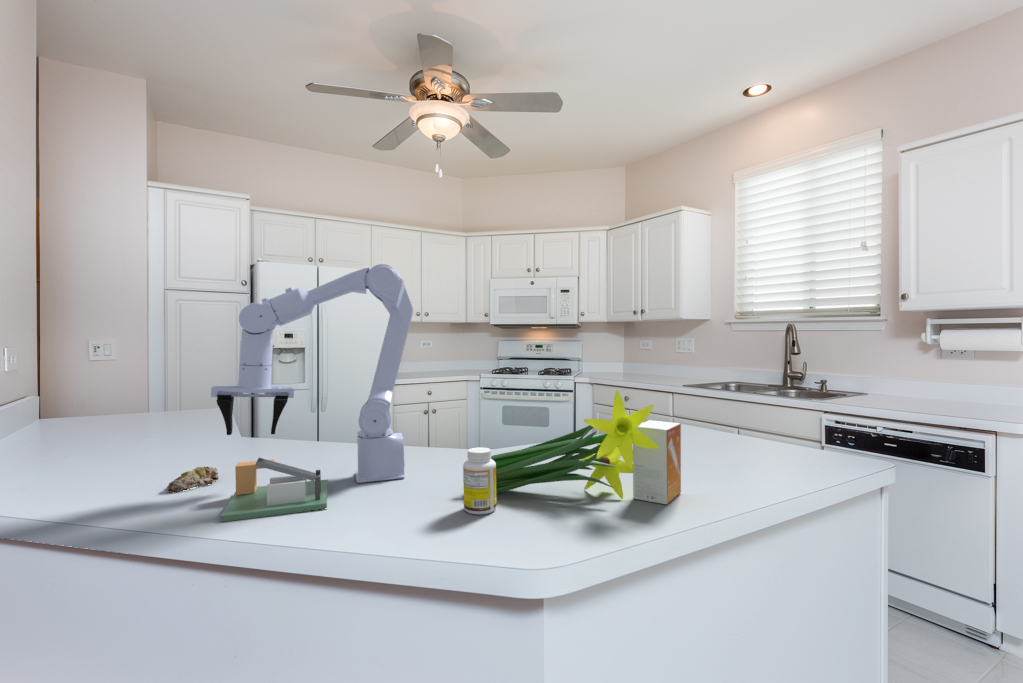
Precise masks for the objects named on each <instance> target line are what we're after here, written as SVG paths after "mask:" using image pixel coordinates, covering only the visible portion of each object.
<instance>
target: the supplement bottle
mask: <svg viewBox="0 0 1023 683" xmlns="http://www.w3.org/2000/svg"><path fill="white" fill-rule="evenodd" d="M466 456H467V460H465V461H464V462H463V464H462V467H463V469H462V473H463V474H462V475H463V476H462V478H463V480H462V481H463V508H464V510H465V512H466V513H468V514H470V515H478V516H479V515H488V514H490V513H493V512H494V511H495V510H496V509H497V505H498V504H497V502H498V501H497V494H496V463H495V461H494V460H492V459H491V456H492V450H491V448H488V447H478V446H477V447H472V448H469V449H468V450H467V455H466Z"/></svg>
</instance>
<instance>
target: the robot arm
mask: <svg viewBox="0 0 1023 683" xmlns="http://www.w3.org/2000/svg"><path fill="white" fill-rule="evenodd" d="M404 282H405V281H404V279H403V278H402V277H401V275H400V274H399V273H398V272H397V271H396V269H395V268H394V267H392V266H391V265H389V264H387V263H385V264H383V263H379V264H376V265H373V266H371V268H370V267H365V268H362V269H358V270H356V271H352V272H350V273H347V274H345V275H342V276H340V277H338V278H336V279H334V280H331V281H328V282H326V283H324V284H322V285H319V286H317V287H315V288H312V289H311V290H304V289H302V288H295V289H294V288H292V287H288V288H286V289H285V290H284V291H285V292H284V293H281V294H278V295H276V296H274V297H272V298H267V297H264V298H262V299H261V303H258V302H251V303H249V304H248V305H246V306H244V307H243V308H242V309H241V311H240V312H239V314H238V323H239V325H240V326H241V340H240V347H239V361H238V362H239V363H238V364H239V365H238V381H237V385H222V386H221V385H220V386H219V385H213V386H211V388H210V398H216V404H217V406H218V408H219V410H220V412H221V415H222V418H223V420H224V424H225V429H226V436H231V435H232V434H233V413H234V412H233V410H234V403H235V402H234V401H235V398H274V399H273V407H272V408H273V410H272V422H271V430H270V435H275V434H276V429H277V426H278V422H279V420H280V417H281V415H282V413H283V411H284V408H285V407H286V405H287V403H288V402H289V401H288V400H289V399H294V398H295V387H294V386H292V387H289V386H287V387H286V386H272V385H271V383H272V367H273V365H272V364H273V348H274V342H273V337H274V336H273V335H274V330H275V329H276V327H277V326H279V327H282V326H284V325H287V324H290V323H291V322H295V321H297V320H300V319H302V318H304V317H307V316H310V315H312V313H313V310H314V307H315V306H317V305H320V304H322V303H326V302H329V301H331V300H334V299H336V298H340V297H342V296H345V295H348V294H351V293H357V294H364V295H366V294H367V290H369V293H371V294H372V295H373V297H375V298H376V299H378V300H379V301H380V302H381V303H382V305H383V306H384V308H385V309H386V311H387V312H388V314H389V318H388V322H387V326H386V330H385V334H384V338H383V342H382V345H381V349H380V353H379V356H378V361H377V365H376V368H375V372H374V376H373V379H372V380H373V381H372V384H371V387H370V388H371V389H370V391H369V395H368V397H367V398H368V399H367V400H366V402H365V403H364V405H362V407H361V409H360V411H359V417H358V427H359V429H360V430H359V431H358V432H357V433H356V434H357V435H356V440H357V441H356V442H357V470H355V473H354V474H355V479H356V480H355V481H356V483H358V484H360V483H369V482H370V483H371V482H379V481H388V480H398V479H405V477H406V476H405V465H406V464H405V451H404V449H405V444H404V437H403V436H404V435H403V433H402V432H394V430H393V429H392V428H390V426H391V423H392V422H391V421H392V419H391V412H390V407H391V404H392V398H393V397H392V396H393V392H394V389H395V384H396V380H397V377H398V372H399V369H400V366H401V365H400V364H401V361H402V357H403V353H404V349H405V345H406V341H407V338H408V334H409V333H408V332H409V329H410V326H411V321H412V318H413V314H414V307H413V304H412V302H411V299H410V296H409V293H408V291H407V288H406V286H405V283H404Z"/></svg>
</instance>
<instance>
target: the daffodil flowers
mask: <svg viewBox="0 0 1023 683" xmlns="http://www.w3.org/2000/svg"><path fill="white" fill-rule="evenodd" d="M653 408H654V405H653V404H652V405H648V406H645V407H643V408H641V409H639V410H636V411H634V412H633V413H631V414H627V411H626V407H625V404H624V402H623V399H622V396H621V394H620V392H619V391H618V390H617V389H616V390H615V393H614V397H613V403H612V415H611V419H612V420H611V419H604V418H603V419H602V418H586V419H583V422H584V423H585V424H586V425H587V424H588V425H587V426H585V427H583V428H580V429H579V430H575V431H573V432H570V433H567V434H565V435H561V436H558V437H556V438H554V439H550V440H547V441H544V442H541V443H538V444H534V445H531V446H528V447H525V448H521V449H518V450H513V451H508V452H502V453H498V454H493V455H491V459H492V460H494V461H495V463H496V495H497V494H500V493H505V492H508V491H512V490H515V489H518V488H522V487H525V486H527V485H528V486H529V485H532V484H544V483H554V482H566V481H568V482H569V481H586V484H585V486H584V489H583V490H584V491H585V490H588V489H589V488H590V487H592V486H594V485H595V484H596V483H598V484H602V485H604V486H607V487H609V488H612V490H613V491H614V492H615V493H616V495H617V496H619V498H620V499H621V500H623V499H624V490H623V487H622V482H621V477H620V474H633V444H634V445H637V446H639V447H643V448H650V449H657V448H659V447H658V446H657V445H656V444H655V443H654V442H653V441H652V440H650V439H649V438H648V437H647V436H645V435H644V434H642V433H641V432H639V431H638V430H636V428H637V427H638V426H639V425H640V424H641V423H644V422H646V420H647V418H648V416H650V414H651V412H652V410H653ZM593 429H596V430H598V431H600V432H602V433H603V434H600V435H596V434H597V433H598V431H593V432H592V433H590V434H588V433H589V432H590V431H591V430H593ZM586 435H587V436H586ZM592 445H596V446H594V447H592V448H585V447H590V446H592ZM560 456H561V457H560ZM556 457H558V458H556ZM553 458H556V459H553ZM620 458H622V459H623V460H620ZM549 459H550V461H549V462H544V461H547V460H549ZM551 459H553V460H552V461H551ZM541 462H544V463H541ZM538 463H539V464H538ZM540 463H541V464H540ZM589 466H591V467H593V468H594V469H593V468H591V467H589ZM578 470H589V471H592V470H593V471H592V473H591V475H590V476H586V475H583V474H580V473H575V471H578ZM573 472H574V473H573ZM603 478H605V479H606V481H607V483H606V482H605V481H602V480H601V479H603Z"/></svg>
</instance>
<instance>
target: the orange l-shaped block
mask: <svg viewBox="0 0 1023 683" xmlns="http://www.w3.org/2000/svg"><path fill="white" fill-rule="evenodd" d="M269 460H270V461H274V462H275V459H269ZM256 462H257V460H252V461H250V460H249V461H243V462H242V461H240V462H238V463H237V464H236V465H235V492H236V495H242V494H251V493H255V491H256V489H257V487H258V480H257V479H258V477H257V475H258V474H257V472H258V471H257V470H258V469H259V470H260V469H261V470H262V469H264V468H263V467H259V466H256V465H255V464H256Z"/></svg>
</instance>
